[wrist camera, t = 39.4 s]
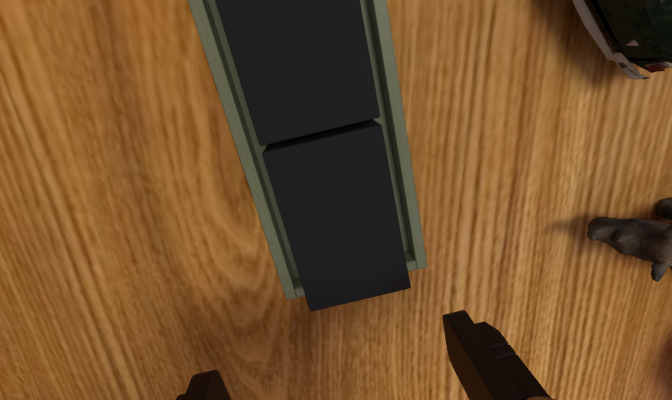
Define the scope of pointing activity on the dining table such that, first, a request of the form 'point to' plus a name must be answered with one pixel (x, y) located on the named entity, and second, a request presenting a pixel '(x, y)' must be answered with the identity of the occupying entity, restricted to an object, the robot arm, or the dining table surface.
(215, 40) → the backing tray
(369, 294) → the pad
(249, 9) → the pad
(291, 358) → the dining table surface
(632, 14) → the miniature car
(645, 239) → the rhino figurine
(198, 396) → the robot arm
